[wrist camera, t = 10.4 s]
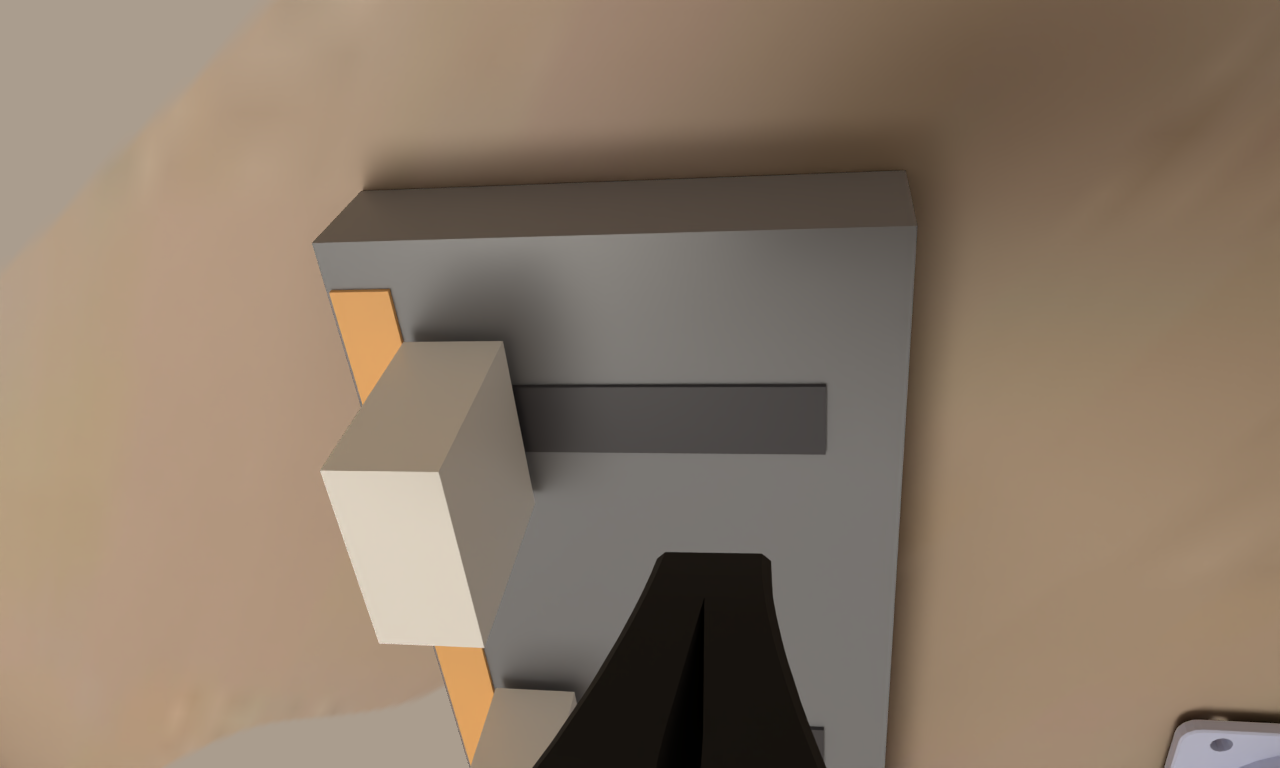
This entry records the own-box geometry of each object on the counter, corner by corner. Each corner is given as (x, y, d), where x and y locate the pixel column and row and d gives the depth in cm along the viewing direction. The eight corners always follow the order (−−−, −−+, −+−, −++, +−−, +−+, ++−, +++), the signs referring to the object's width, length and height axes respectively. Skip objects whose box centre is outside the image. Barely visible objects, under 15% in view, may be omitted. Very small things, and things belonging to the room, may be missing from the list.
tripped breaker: (502, 340, 19) (438, 472, 16) (534, 502, 21) (484, 648, 18) (403, 342, 19) (319, 470, 16) (445, 500, 21) (379, 643, 18)
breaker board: (905, 170, 19) (918, 228, 17) (865, 948, 34) (868, 1031, 32) (361, 190, 21) (309, 245, 19) (552, 920, 36) (536, 996, 34)
